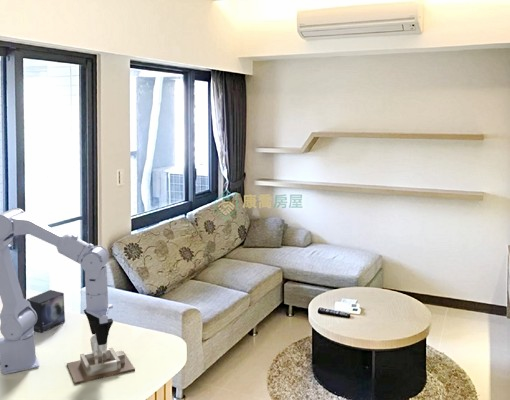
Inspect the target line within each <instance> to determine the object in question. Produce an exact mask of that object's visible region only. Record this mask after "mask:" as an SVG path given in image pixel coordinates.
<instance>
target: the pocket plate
mask: <svg viewBox="0 0 510 400" xmlns="http://www.w3.org/2000/svg"><path fill="white" fill-rule="evenodd" d="M79 356H80V360H75V361H70V362H66V366H67V368H68V371H69V374H70V375H71V379H72V380H73V383H74V385H79V384H84V383H87V382H92V381H97V380H101V379H103V378H104V379H105V378H109V377H110V378H111V377H114V376H117V375H118V376H119V375H122V374H126V373H131V372H135V371H136V368H135V366H134V365H133V364H132V362H131V360H130V359H129V358H128V356H127V354H126V353H125V351H123V350H118V351H117V350H116V351H115V350H114V348H113V347H110V348H107V360H106V362H105V363H100V364H95V365H94V362H93V355H92V351H90V352H85V353H81V354H79Z"/></svg>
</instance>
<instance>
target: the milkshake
mask: <svg viewBox="0 0 510 400" xmlns="http://www.w3.org/2000/svg"><path fill="white" fill-rule="evenodd" d="M108 336H109V333H108ZM90 346H91V352H92V355H93V362H94V365H95V364H100V363H105V362H106V360H107V349H108V342H107V343H106V344H104V345H98V343H97V339H96V334H93V335H92V336H91V337H90Z"/></svg>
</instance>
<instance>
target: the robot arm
mask: <svg viewBox="0 0 510 400" xmlns="http://www.w3.org/2000/svg"><path fill="white" fill-rule="evenodd" d="M23 235H31V236H32V237H34V238H37V239H39V240H41V241H44V242H45V243H48V244H50V245H52V246H54V247H56V249H57V253H59V254H60V255H62V256H64V257H66V258H67V259H69V260H71V261H74V262H75V263H78V264H80V267H81V269H82V270H83V271H84V283H85V284H84V285H85V301H86V305H85V308H84V310H83V313H84V314H85V316H86V318H87V321H88V325H89V329H90V332H91V334H92V336H94V335H95V334H96V339H97V343H98V345H104V344H106V343H107V344H108V337H109V335H108V334H109V332H110V329H111V327H112V325H113V323H114V320H113V318H109V317H108V314H109V311H110V310H111V309H113V308H114V305H113V304H112V303H109V294H108V293H109V290H108V273H107V264H108V263H109V259H110V254H109V252H108V250H107V249H106V248H105V247H103V246H102V245H94V244H92V243H89V242H86V241H84V240H82V239H81V238H79V236H78V235H77V234H75V233H74V234H71V233H67V234H65V235H64V234H62V233H60V232H58V231H57V230H55V229H53V228H51V227H50V226H48V225H47V224H45V223H43V222H42V221H40V220H38V219H37V218H35V217H34V216H33V215H32V213H29V212H27V211H24V210H23V209H21V208H18V207H14V208H13V207H12V208H10V209H9V210H6V211H3V212H1V213H0V300H1V304H2V309H1V310H0V333H1V335H2V337H0V370H1V375H7V374H13V373H17V372H22V371H27V370H30V369H31V370H32V369H36V368H39V367H40V364H39V360H38V357H37V355H36V354H37V353H36V342H35V341H36V340H35V339H36V338H35V331H34V325H35V324H36V322H37V314H36V312H35V311H34V309H33V308H32V307H31V304H30V302H29V301H27V298H24V294H23V291H22V287H21V285H20V284H21V283H20V282H19V281H20V280H19V277H18V273H17V271H16V268H15V264H14V262H13V258H12V254H11V250H10V247H9V245H10V243H11V241H12V240H13V239H14V238H15V236H23Z"/></svg>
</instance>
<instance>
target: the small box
mask: <svg viewBox="0 0 510 400" xmlns="http://www.w3.org/2000/svg"><path fill="white" fill-rule="evenodd" d="M26 300H27V301H29V302H30V304H31V307H32V308H33V309H34V311H35V312H36V314H37V322H36V324H35V325H34V333H35V332H36V333H40V334H42V333H45V332H46V331H49V330H52V329H53V328H55V327H57V326H59V325H62V324H64V323H65V322H66V314H65V294H64V292H61V291H57V290H52V289H49V290H47V291H44V292H42V293H39V294H37V295H35V296H32V297H30V298H26Z"/></svg>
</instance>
